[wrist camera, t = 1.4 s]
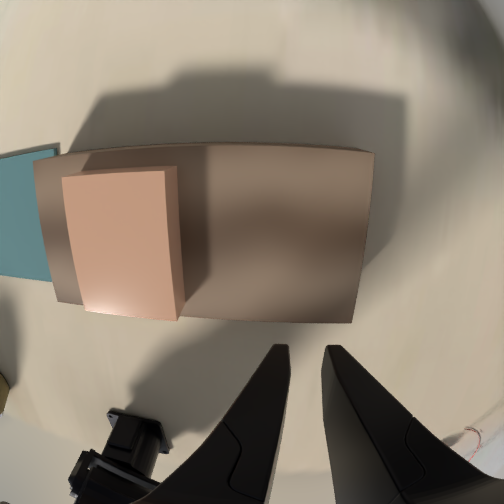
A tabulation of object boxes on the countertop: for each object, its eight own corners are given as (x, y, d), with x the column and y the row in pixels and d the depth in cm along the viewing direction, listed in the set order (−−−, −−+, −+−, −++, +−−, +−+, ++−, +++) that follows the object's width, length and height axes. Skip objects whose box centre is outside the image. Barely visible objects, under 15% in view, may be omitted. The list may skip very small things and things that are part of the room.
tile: (185, 302, 19) (176, 321, 17) (99, 294, 19) (85, 310, 17) (177, 165, 16) (164, 170, 14) (81, 171, 16) (61, 177, 14)
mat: (75, 282, 24) (73, 284, 23) (-18, 270, 24) (-20, 272, 24) (56, 148, 19) (53, 148, 19) (-37, 168, 20) (-40, 169, 20)
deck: (340, 291, 22) (351, 323, 18) (83, 277, 23) (57, 301, 20) (355, 148, 18) (374, 153, 15) (66, 153, 20) (32, 161, 16)
